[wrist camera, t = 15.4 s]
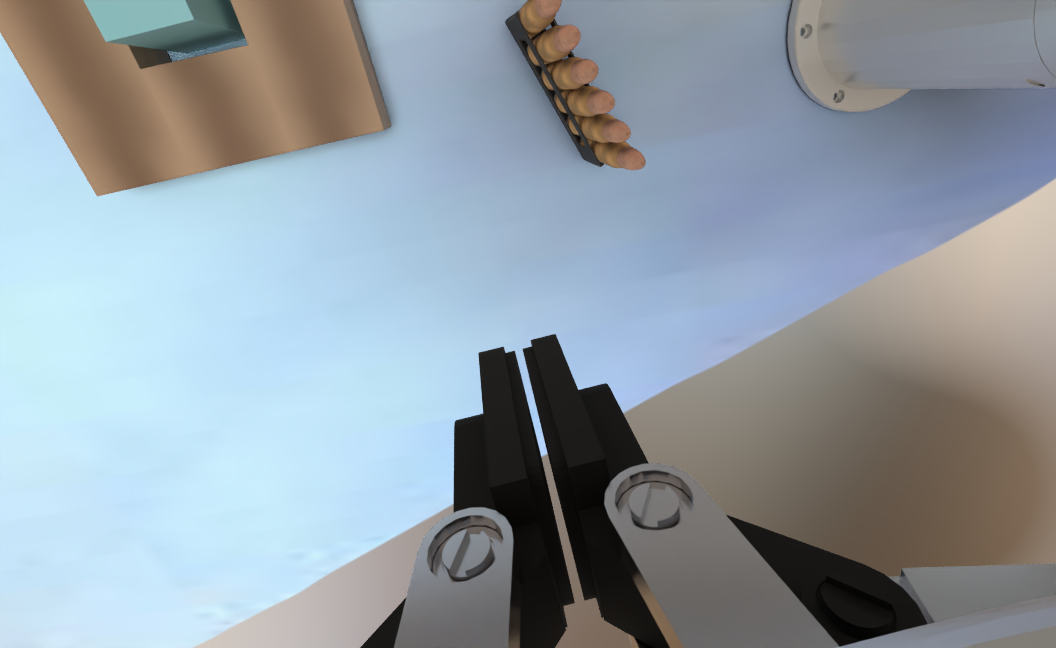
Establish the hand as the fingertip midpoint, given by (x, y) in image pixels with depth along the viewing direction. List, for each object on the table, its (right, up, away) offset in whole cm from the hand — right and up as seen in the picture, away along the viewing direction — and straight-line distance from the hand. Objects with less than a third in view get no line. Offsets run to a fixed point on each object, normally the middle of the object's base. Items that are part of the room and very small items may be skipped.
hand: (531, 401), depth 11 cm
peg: (-20, +21, +20) cm, 35 cm away
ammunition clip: (+2, +18, +24) cm, 31 cm away
